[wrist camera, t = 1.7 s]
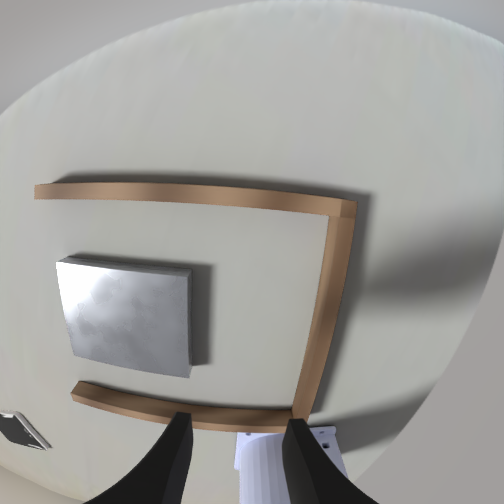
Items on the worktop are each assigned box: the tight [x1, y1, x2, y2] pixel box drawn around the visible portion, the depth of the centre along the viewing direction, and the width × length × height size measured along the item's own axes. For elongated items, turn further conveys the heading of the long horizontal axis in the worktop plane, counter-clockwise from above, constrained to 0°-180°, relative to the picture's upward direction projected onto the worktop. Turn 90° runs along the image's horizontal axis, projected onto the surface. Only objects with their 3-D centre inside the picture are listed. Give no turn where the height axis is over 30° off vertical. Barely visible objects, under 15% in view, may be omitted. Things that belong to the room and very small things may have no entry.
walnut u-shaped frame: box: [35, 182, 358, 433], centre depth 18 cm, size 21×19×2 cm
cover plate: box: [57, 257, 192, 378], centre depth 18 cm, size 10×8×2 cm
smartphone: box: [0, 410, 49, 451], centre depth 24 cm, size 8×1×15 cm
